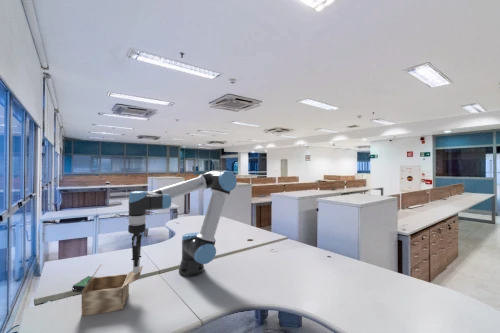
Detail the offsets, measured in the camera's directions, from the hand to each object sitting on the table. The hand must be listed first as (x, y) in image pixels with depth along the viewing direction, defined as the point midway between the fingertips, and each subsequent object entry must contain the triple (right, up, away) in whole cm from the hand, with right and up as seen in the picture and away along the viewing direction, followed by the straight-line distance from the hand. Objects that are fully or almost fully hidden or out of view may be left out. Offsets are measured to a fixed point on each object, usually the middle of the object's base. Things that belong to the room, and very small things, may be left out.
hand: (136, 272), depth 115 cm
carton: (-12, -13, -3) cm, 18 cm away
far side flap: (-20, -3, -6) cm, 21 cm away
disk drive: (-29, -13, +12) cm, 34 cm away
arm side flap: (-4, -3, -1) cm, 5 cm away
